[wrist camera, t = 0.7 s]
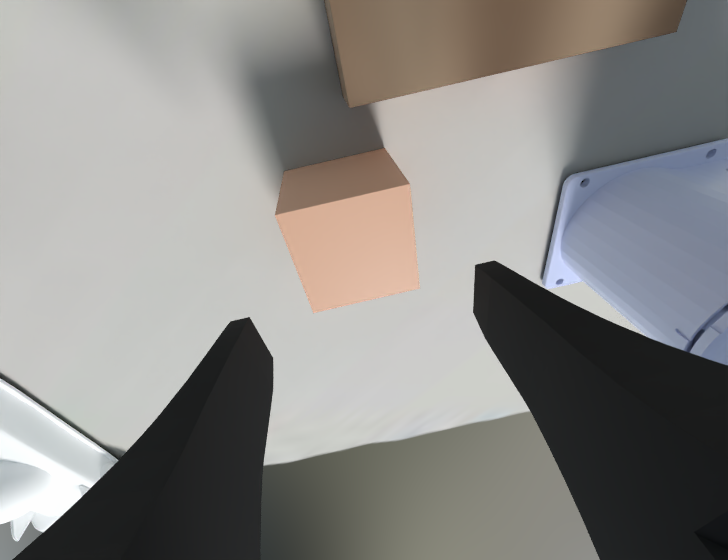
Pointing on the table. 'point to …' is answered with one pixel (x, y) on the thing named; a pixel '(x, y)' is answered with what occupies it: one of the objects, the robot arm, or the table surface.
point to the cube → (349, 229)
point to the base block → (475, 38)
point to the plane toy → (42, 463)
